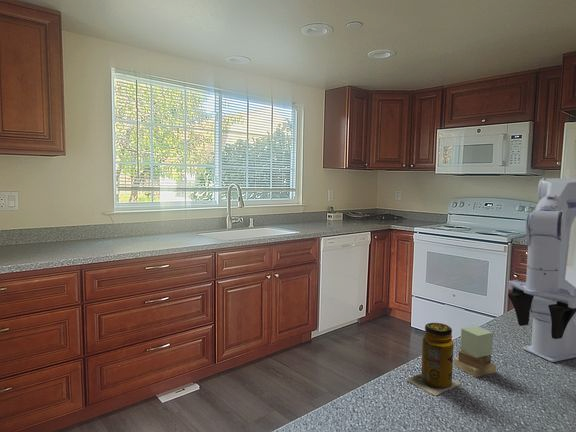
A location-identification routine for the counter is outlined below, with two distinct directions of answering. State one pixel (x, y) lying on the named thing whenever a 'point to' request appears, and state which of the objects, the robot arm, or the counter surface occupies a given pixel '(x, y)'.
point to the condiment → (436, 360)
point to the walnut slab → (474, 360)
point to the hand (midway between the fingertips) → (539, 331)
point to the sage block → (476, 341)
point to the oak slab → (475, 368)
